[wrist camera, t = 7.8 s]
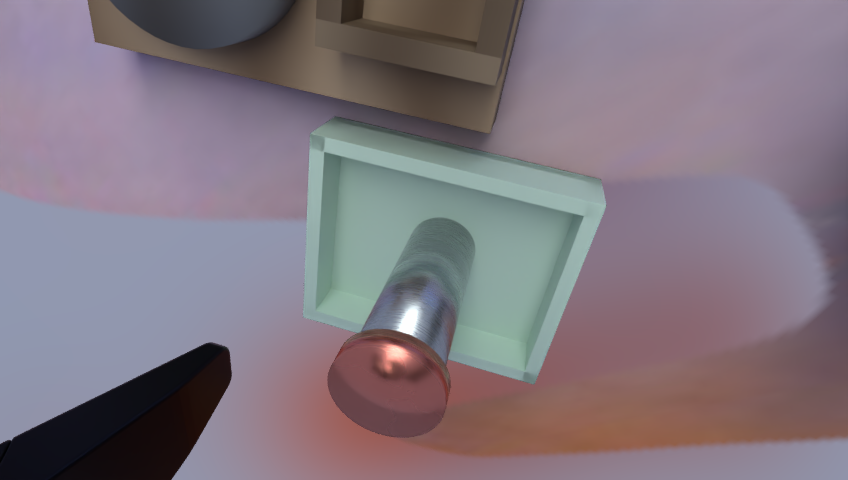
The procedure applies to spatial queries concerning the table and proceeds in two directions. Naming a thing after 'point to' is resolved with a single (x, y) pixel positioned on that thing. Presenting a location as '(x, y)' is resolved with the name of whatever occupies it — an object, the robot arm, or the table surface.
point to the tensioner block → (337, 47)
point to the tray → (457, 200)
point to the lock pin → (407, 337)
